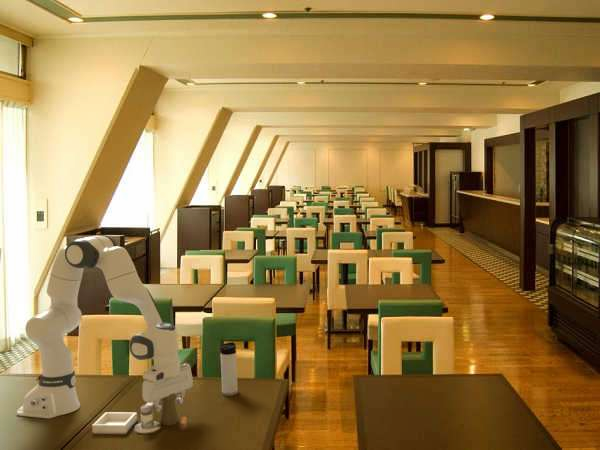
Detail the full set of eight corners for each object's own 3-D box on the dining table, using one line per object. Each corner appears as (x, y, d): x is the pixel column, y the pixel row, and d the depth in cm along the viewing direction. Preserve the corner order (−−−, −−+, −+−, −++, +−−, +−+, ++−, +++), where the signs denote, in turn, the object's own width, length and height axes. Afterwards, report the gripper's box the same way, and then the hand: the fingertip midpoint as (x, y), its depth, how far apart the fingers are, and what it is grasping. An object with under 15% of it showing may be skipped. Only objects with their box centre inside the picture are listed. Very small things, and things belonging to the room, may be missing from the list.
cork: (174, 425, 224) (172, 395, 223) (158, 424, 225) (156, 394, 224) (180, 418, 230) (179, 389, 229) (165, 418, 231) (163, 388, 230)
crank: (150, 414, 219) (149, 395, 219) (139, 414, 220) (138, 395, 219) (162, 400, 233) (161, 382, 232) (151, 400, 233) (151, 382, 232)
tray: (92, 433, 219) (92, 425, 219) (106, 420, 230) (105, 412, 230) (125, 433, 218) (124, 425, 217) (137, 420, 229) (136, 412, 229)
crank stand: (130, 433, 218) (129, 418, 217) (139, 423, 227) (138, 408, 226) (183, 434, 216) (182, 418, 216) (190, 423, 225) (189, 408, 224)
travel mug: (241, 391, 256) (239, 342, 254) (232, 396, 250) (230, 347, 248) (227, 389, 259) (225, 341, 257) (219, 394, 253) (217, 345, 251)
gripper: (184, 360, 236) (186, 396, 237) (138, 375, 220) (140, 414, 221) (195, 362, 231) (197, 399, 233) (149, 378, 216) (152, 418, 217)
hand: (169, 406), depth 227 cm, fingers open, 8 cm apart
